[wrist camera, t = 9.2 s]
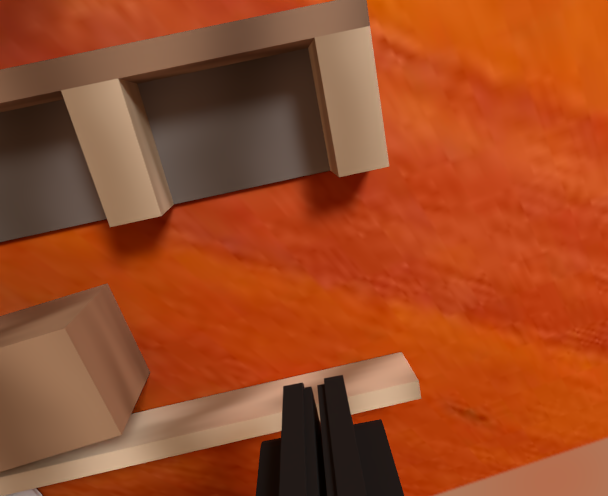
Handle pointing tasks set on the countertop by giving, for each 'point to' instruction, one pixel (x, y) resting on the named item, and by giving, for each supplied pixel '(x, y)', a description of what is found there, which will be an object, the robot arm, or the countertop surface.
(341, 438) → the robot arm
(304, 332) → the countertop surface
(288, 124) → the tray
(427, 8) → the countertop surface
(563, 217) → the countertop surface
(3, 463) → the block
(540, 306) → the countertop surface
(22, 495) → the skincare box
